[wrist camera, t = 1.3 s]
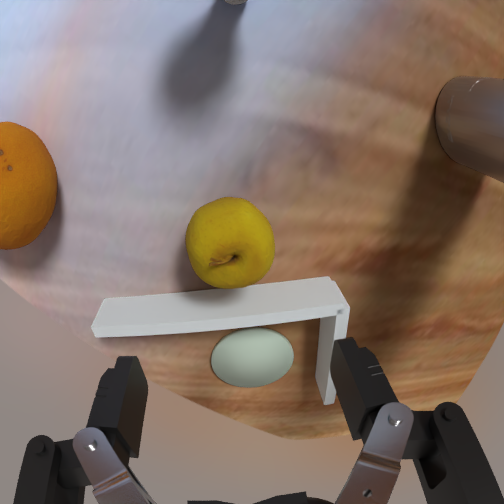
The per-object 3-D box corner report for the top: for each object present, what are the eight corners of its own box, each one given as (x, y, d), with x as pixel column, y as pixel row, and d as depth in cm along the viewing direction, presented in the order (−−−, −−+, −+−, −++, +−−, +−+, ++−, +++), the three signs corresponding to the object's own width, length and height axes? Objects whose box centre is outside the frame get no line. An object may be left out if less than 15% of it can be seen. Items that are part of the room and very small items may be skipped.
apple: (176, 206, 26) (160, 248, 19) (247, 172, 25) (258, 202, 18) (211, 267, 29) (209, 324, 21) (277, 238, 28) (297, 288, 21)
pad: (293, 322, 32) (294, 325, 32) (292, 378, 36) (292, 382, 36) (205, 332, 32) (205, 335, 31) (217, 387, 36) (217, 390, 35)
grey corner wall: (334, 275, 30) (350, 302, 26) (324, 375, 37) (334, 403, 33) (104, 298, 29) (90, 327, 25) (143, 392, 36) (138, 421, 32)
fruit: (11, 241, 25) (-32, 282, 18) (-25, 147, 20) (-79, 169, 13) (89, 208, 25) (48, 249, 18) (51, 97, 20) (-5, 103, 13)
